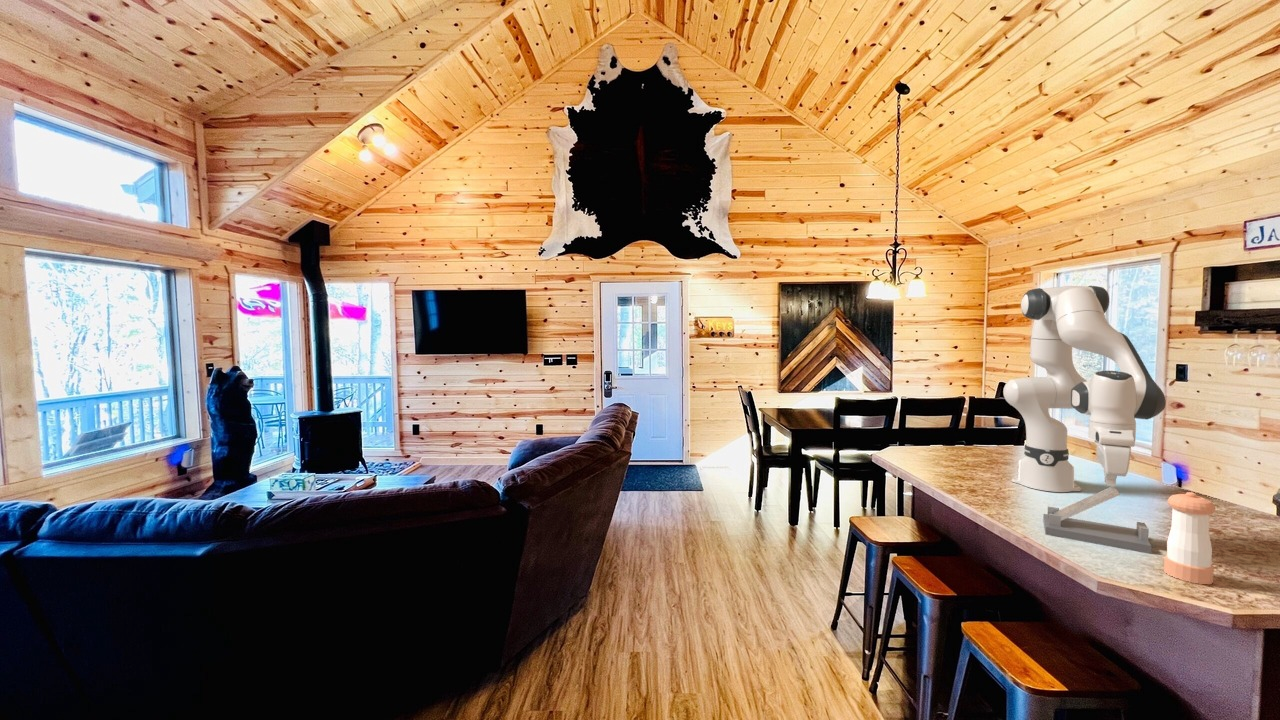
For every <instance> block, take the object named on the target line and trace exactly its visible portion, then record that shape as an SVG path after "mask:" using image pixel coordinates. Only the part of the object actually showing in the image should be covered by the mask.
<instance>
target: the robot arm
mask: <svg viewBox="0 0 1280 720" xmlns="http://www.w3.org/2000/svg"><path fill="white" fill-rule="evenodd" d="M1109 307H1110V295H1109V292H1108V290H1106V289H1105V288H1104V287H1102V286H1096V285H1088V286H1085V285H1063V286H1053V287H1044V288H1041V287H1039V288H1032V289H1029V290H1027V291H1026V292H1025V293H1024V294H1023V295H1022V299H1021V302H1020V309H1021V312H1022V315H1023V316H1024V317H1025V318H1026V319H1029V320H1033V323H1032V328H1031V334H1030V346H1029V348H1030V349H1029V350H1030V351H1029V358H1030V360H1031V361H1032V363H1034V364H1035V365H1036V366H1038V367H1041V368H1044V369H1045V371H1046V375H1047V376H1045V377H1043V376H1041V377H1039V376H1031V377H1030V376H1027V377H1017V378H1012V379H1009V380H1008V381H1007V382H1006V383H1005V385H1004V387H1003V391H1002V393H1003V398H1004V399H1005V401H1006V402H1007V403H1008V404H1009V405H1010V406H1012V407H1013V408H1015V409H1016V411H1018V412H1019V414H1020V415H1021V416H1022V417H1021V418H1023V421H1024V424H1025V434H1026V435H1025V440H1026V441H1025V444H1024V448H1023V449H1024V450H1023V451H1024V453H1023V454H1024V457H1022V458H1021V459H1019V460H1018V462H1017V468H1018V470H1017V474H1016V475H1015V476H1014V477H1012V478H1011V482H1012V483H1015V484H1018V485H1022V486H1023V487H1027V488H1031V489H1035V490H1040V491H1043V492H1045V491H1046V492H1052V493H1068V492H1082V488H1081V487H1080V486H1079V485H1077V483H1075V467H1074V466H1073V465H1072V464H1071V462H1069V457H1070V452H1069V448H1068V428H1067V426H1066V425H1065V424H1064V423H1063V422H1062V421H1060V420H1058V419H1056V418H1054V417H1051V415H1050V411H1049V409H1065V410H1066V409H1067V410H1069V409H1070V410H1071V409H1074V410H1075V411H1077V412H1078V413H1080V414H1083V415H1086V416H1089V418H1088V438H1089V439H1091V440H1094V445H1096V452H1095V453H1096V454H1095V455H1096V459H1097V460H1098V463H1099V464H1100V465H1101V467H1102V469H1103V473H1104V483H1105V485H1106V486H1107V487H1108V486H1109V487H1111V486H1113V487H1116V485H1117V483H1116V482H1117V477H1126V476H1127V475H1128V472H1129V469H1130V468H1129V467H1130V460H1131V452H1132V448H1134V447H1135V445H1136V433H1137V432H1136V431H1137V422H1136V419H1139V420H1150V419H1153V418H1155V417H1156V416H1158V415H1160V414H1161V413H1162V412H1163V411H1165V408H1166V404H1167V403H1166V397H1165V394H1164V392H1163V390H1162V389H1161V387H1160V386H1159V385H1158V384H1157V383H1156V381H1155V380H1154V379H1153V378H1152V376H1151V374H1150V372H1149V370H1148V369H1147V367H1146V366H1145V364H1144V362H1143V360H1142V357H1140V354H1139V353H1138V351H1137V349H1136V348H1135V346H1134V345H1133V342H1132V341H1131V340H1130V338H1129V337H1128V336H1127V335H1126V334H1124V333H1122V332H1120V331H1118V330H1117V329H1115V328H1114V327H1113V326H1112V325H1111V324H1110V322H1108V321H1107V320H1108V319H1106V316H1105V315H1106V314H1105V313H1106V312H1107V311H1108V309H1109ZM1073 349H1077V350H1080V351H1083V352H1084V351H1085V352H1090V353H1094V354H1097V355H1101V356H1104V357H1106V358H1108V359H1110V360H1112V361H1113V362H1114V363H1115V364H1116V366H1117V368H1118V370H1101V371H1097V372H1094V373H1093V374H1092V376H1091V379H1088V380H1087V379H1085V378H1084V377H1082V375H1080V373H1078V371H1077V370H1076V368H1075V365H1074V362H1073V361H1074V360H1073Z"/></svg>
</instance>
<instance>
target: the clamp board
mask: <svg viewBox="0 0 1280 720" xmlns="http://www.w3.org/2000/svg"><path fill="white" fill-rule="evenodd" d="M1059 510H1060V508H1059V507H1053V506H1049V505H1048V506H1047V514H1046V513H1043V514H1042V516H1043V518H1042V521H1043V526H1044V527H1043V528H1044V535H1047V536H1052V537H1059V538H1064V539H1068V540H1075V541H1079V542H1086V543H1089V544H1090V543H1091V544H1096V545H1103V546H1108V547H1112V548H1117V549H1124V550H1130V551H1135V552H1140V553H1145V554H1151V555H1152V544H1151V543H1150V541H1149V533H1150V531H1149V528H1148V526H1147V525H1146V523H1145V522H1142V521H1141V522H1140V521H1136V528H1132V527H1127V526H1120V525H1113V524H1108V523H1102V522H1097V521H1089V520H1083V519H1078V518H1071V517H1069V518H1067V519H1064V520H1062V521H1061V515H1055V514H1050V513H1054V512H1056V511H1059Z"/></svg>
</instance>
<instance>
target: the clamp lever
mask: <svg viewBox="0 0 1280 720" xmlns="http://www.w3.org/2000/svg"><path fill="white" fill-rule="evenodd" d="M1120 495H1121V494H1120V492H1119V491H1118V489H1117V488H1116V487H1115V486H1109V487H1107V488H1104V489H1103V490H1101V491H1098V492H1096V493H1094V494H1092V495H1090V496H1087V497H1085V498H1083V499H1081V500H1078V501H1076V502H1074V503H1072V504H1070V505H1067V506H1065V507H1063V508H1061V509H1059V511H1056V512H1054V513H1050V514H1055V515H1061V521H1062V520H1064V519H1067V518H1071V517H1074V516H1075V515H1078V514H1080V513H1082V512H1084V511H1087V510H1089V509H1092V508H1093V507H1096V506H1098V505H1100V504H1103V503H1105V502H1107V501H1109V500H1112V499H1113V498H1116V497H1118V496H1120Z"/></svg>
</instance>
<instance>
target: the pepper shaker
mask: <svg viewBox="0 0 1280 720" xmlns="http://www.w3.org/2000/svg"><path fill="white" fill-rule="evenodd" d="M1166 501H1167V504H1168V506H1169V507H1170V508H1172V512H1171V527H1170V530H1169V534H1168V538H1167V542H1166V554H1165V555H1164V557H1163V559H1164V560H1163V572H1164V573H1165V574H1166V573H1167V574H1166V575H1168V576H1169V575H1170V576H1169V577H1171V576H1173V577H1172V578H1174V577H1175V578H1174V579H1176V578H1179V579H1182V580H1186V581H1189V582H1188V583H1190V582H1194V583H1193V584H1195V583H1200V584H1199V585H1202V584H1210V585H1213V584H1214V569H1215V568H1214V566H1213V564H1212V558H1213V557H1212V556H1213V548H1212V542H1211V538H1210V515H1213V514H1214V513H1215V512H1216V506H1215V504H1214V503H1213V502H1212V501H1211V500H1209V499H1207V498H1205V497H1202V496H1199V495H1197V494H1196V492H1195V493H1194V492H1192V491H1186V493H1177V494H1172V495H1170V496H1169V497H1168V499H1167V500H1166ZM1179 579H1178V580H1179ZM1182 580H1181V581H1182ZM1186 581H1185V582H1186ZM1212 583H1213V584H1212Z"/></svg>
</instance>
